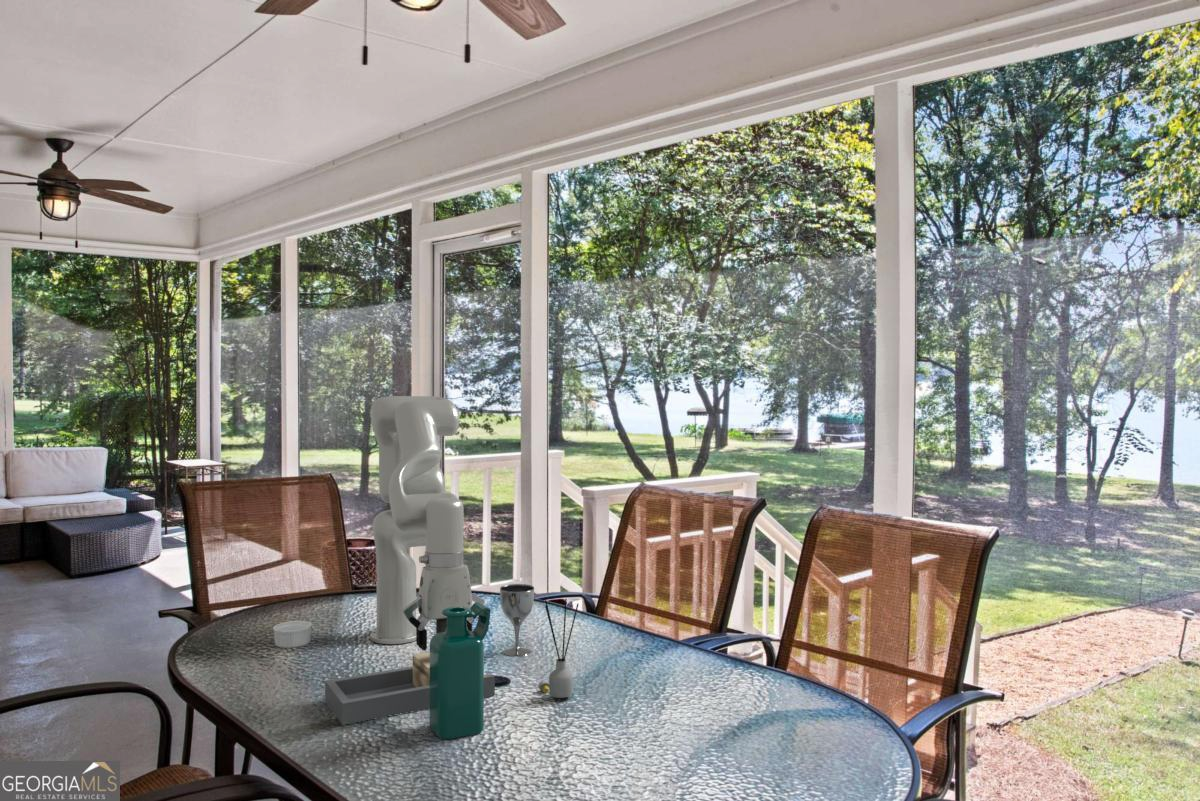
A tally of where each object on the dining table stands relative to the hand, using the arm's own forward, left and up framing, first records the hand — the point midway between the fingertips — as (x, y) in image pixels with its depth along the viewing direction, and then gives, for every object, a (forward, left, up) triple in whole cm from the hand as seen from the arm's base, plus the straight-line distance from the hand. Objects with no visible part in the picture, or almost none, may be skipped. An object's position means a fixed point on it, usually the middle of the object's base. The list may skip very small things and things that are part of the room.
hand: (444, 644), depth 172 cm
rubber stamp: (0, 0, -9) cm, 9 cm away
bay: (0, -7, -10) cm, 12 cm away
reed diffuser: (+14, +18, -10) cm, 25 cm away
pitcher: (+19, -4, -10) cm, 22 cm away
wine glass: (-17, +24, -10) cm, 31 cm away
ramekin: (-50, -20, -10) cm, 55 cm away
